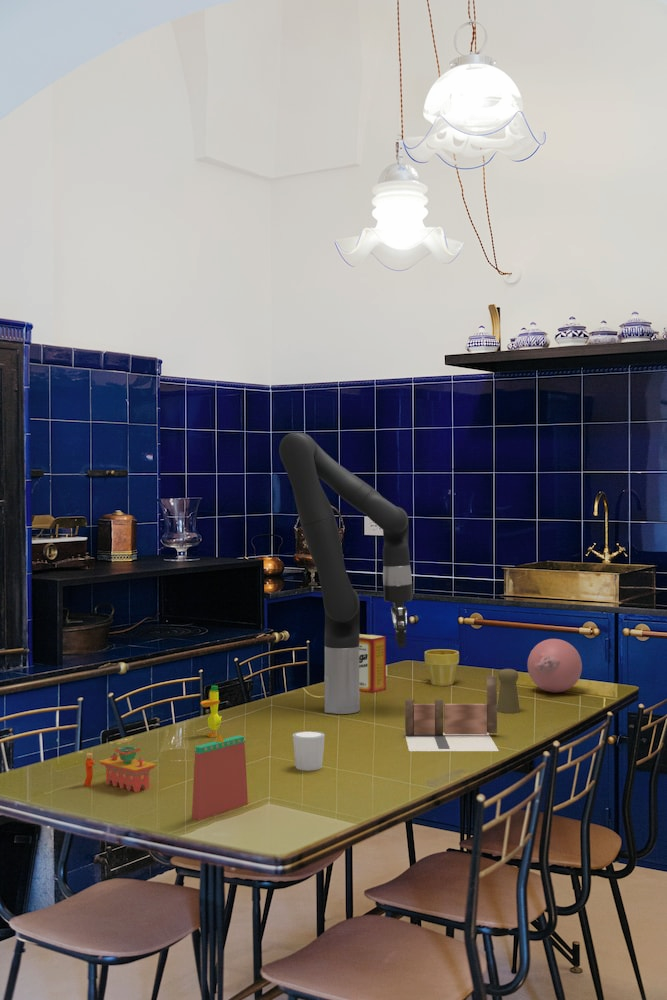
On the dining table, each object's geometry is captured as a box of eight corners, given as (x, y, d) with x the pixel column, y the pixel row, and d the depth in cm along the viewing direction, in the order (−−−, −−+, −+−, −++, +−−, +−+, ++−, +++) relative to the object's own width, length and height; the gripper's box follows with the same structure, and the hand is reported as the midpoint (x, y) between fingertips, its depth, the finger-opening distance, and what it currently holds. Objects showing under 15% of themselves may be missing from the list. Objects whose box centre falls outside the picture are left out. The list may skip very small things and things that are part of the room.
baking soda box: (346, 689, 314) (346, 635, 314) (359, 686, 319) (359, 632, 319) (372, 693, 308) (372, 637, 308) (385, 689, 314) (385, 635, 313)
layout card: (409, 752, 239) (409, 750, 239) (404, 734, 257) (404, 732, 257) (499, 752, 239) (499, 750, 239) (488, 734, 257) (488, 732, 257)
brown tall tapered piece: (519, 708, 286) (519, 667, 286) (520, 713, 280) (520, 671, 280) (496, 708, 287) (496, 667, 287) (497, 713, 281) (497, 671, 281)
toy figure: (206, 740, 252) (206, 689, 251) (196, 737, 254) (196, 687, 254) (227, 734, 257) (227, 685, 257) (216, 732, 259) (216, 683, 259)
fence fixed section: (405, 736, 253) (405, 701, 253) (405, 734, 255) (404, 699, 255) (443, 736, 253) (443, 701, 253) (442, 734, 255) (442, 699, 255)
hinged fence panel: (445, 735, 253) (444, 677, 252) (444, 732, 255) (444, 675, 255) (497, 734, 252) (497, 677, 252) (496, 732, 255) (496, 675, 255)
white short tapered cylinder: (314, 772, 222) (314, 739, 222) (286, 768, 226) (286, 735, 226) (330, 765, 228) (330, 732, 228) (303, 761, 232) (303, 729, 232)
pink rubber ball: (511, 696, 304) (511, 642, 304) (540, 685, 320) (540, 634, 320) (562, 702, 295) (562, 646, 295) (590, 690, 311) (590, 638, 311)
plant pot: (425, 687, 318) (425, 654, 318) (423, 680, 328) (423, 649, 328) (460, 687, 317) (460, 654, 317) (457, 681, 328) (457, 649, 328)
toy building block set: (199, 821, 191) (199, 742, 191) (76, 787, 213) (76, 716, 213) (247, 805, 201) (247, 729, 200) (125, 774, 223) (125, 706, 222)
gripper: (382, 581, 288) (385, 641, 288) (384, 586, 274) (387, 649, 274) (409, 579, 288) (413, 639, 288) (413, 584, 274) (417, 647, 274)
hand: (400, 644), depth 281 cm, fingers open, 8 cm apart
